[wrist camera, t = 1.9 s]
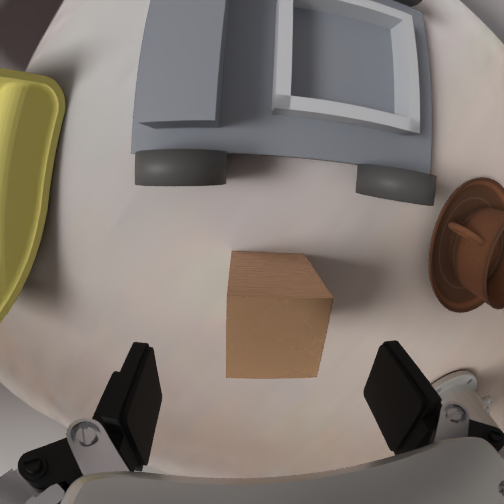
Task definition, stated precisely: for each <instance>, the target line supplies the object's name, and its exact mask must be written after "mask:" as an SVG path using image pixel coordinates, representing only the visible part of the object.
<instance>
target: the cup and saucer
mask: <svg viewBox="0 0 504 504" xmlns="http://www.w3.org/2000/svg"><path fill="white" fill-rule="evenodd" d="M429 276H430V281H431V285H432V288H433V291H434V293H435V295H436V297H437V298H438V300H439V301H440V303H441V304H442V305H443V306H444V307H445V308H447V309H448V310H450V311H453V312H459V313H461V312H468V311H471V310H473V309H475V308H477V307H479V306H481V305H482V304H483V303H485V302H486V303H487V304H488V305H490V306H491V307H493V308H495V309H503V308H504V188H503V187H502V186H501V185H500V184H499V183H498V182H496V181H495V180H492V179H490V178H475V179H472V180H469V181H467V182H465V183H464V184H462V185H461V186H460V187H459V188H457V189H456V190H455V192H454V193H453V194H452V195H451V196H450V198H449V199H448V200H447V202H446V203H445V205H444V207H443V209H442V211H441V213H440V215H439V217H438V220H437V222H436V225H435V228H434V231H433V235H432V239H431V244H430V251H429Z"/></svg>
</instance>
